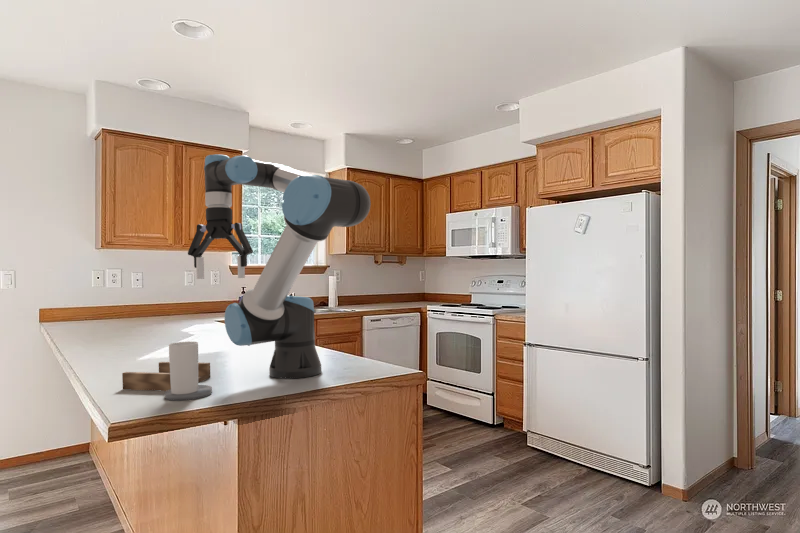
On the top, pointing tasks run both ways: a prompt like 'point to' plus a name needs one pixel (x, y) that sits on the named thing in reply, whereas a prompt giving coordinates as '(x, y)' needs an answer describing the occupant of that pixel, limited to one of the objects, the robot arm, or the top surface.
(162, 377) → the rack
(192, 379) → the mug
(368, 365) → the top surface
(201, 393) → the disc
